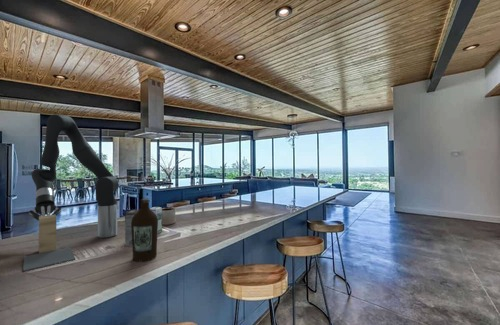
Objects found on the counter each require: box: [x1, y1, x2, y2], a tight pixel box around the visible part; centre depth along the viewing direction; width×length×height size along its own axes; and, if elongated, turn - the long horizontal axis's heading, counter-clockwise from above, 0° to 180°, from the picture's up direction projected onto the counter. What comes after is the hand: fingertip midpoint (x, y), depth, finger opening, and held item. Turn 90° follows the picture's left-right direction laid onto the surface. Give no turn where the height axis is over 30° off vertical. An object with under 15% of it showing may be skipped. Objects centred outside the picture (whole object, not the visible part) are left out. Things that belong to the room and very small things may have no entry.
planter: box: [162, 207, 177, 226], centre depth 161 cm, size 11×11×10 cm
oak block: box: [38, 214, 57, 254], centre depth 111 cm, size 6×6×16 cm
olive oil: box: [131, 198, 158, 262], centre depth 103 cm, size 11×11×25 cm
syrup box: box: [149, 206, 163, 234], centre depth 139 cm, size 6×6×14 cm
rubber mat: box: [22, 247, 77, 272], centre depth 102 cm, size 18×16×1 cm
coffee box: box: [124, 209, 140, 247], centre depth 122 cm, size 9×6×16 cm
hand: (46, 225), depth 117 cm, fingers closed
